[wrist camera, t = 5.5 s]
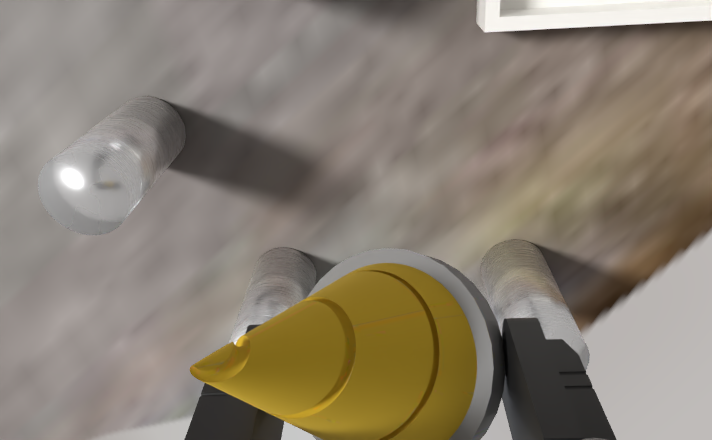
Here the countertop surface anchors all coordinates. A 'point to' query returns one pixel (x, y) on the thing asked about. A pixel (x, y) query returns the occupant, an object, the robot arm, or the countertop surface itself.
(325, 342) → the stepped yellow cone
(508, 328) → the robot arm
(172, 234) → the countertop surface
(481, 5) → the tray
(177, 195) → the countertop surface
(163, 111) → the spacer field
